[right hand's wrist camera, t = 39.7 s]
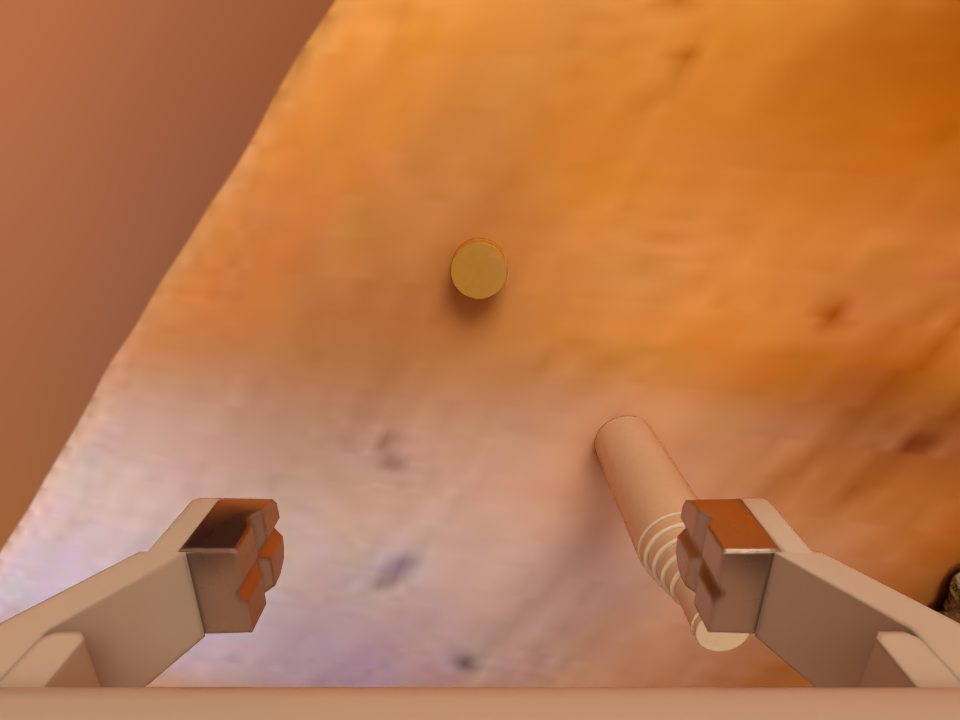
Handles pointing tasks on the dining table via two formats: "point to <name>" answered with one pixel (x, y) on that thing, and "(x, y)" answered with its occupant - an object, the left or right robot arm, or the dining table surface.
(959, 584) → the rock
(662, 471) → the bottle
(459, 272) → the cap
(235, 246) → the dining table surface
